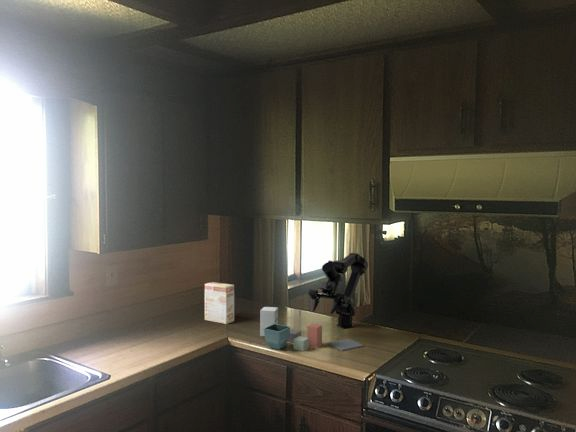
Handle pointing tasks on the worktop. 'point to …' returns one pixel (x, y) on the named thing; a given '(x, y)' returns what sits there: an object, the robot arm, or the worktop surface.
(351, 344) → the slate mat
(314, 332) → the brick-red block
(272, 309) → the supplement box
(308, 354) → the worktop surface
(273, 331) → the flower pot
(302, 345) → the sage block
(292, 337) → the light gray block
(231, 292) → the coffeecake box
